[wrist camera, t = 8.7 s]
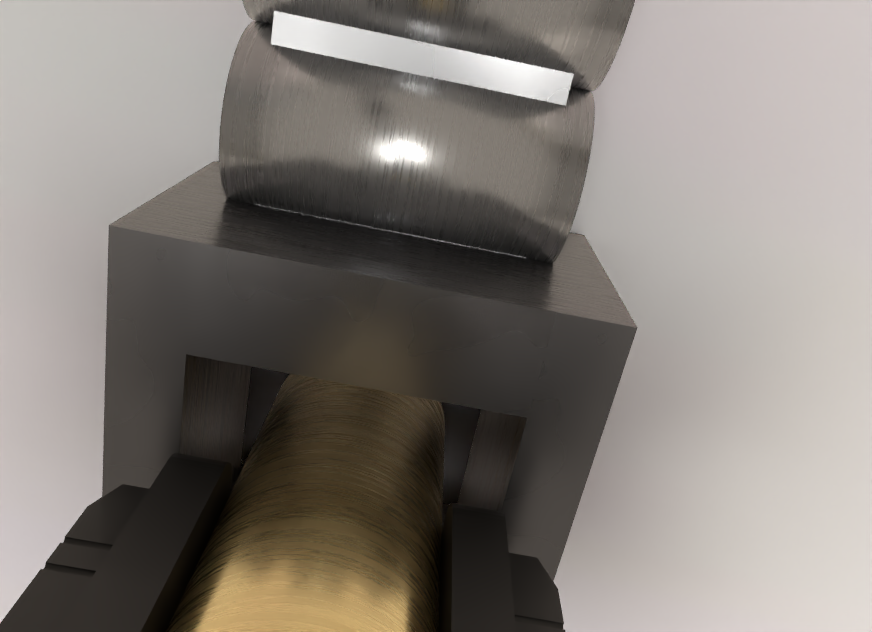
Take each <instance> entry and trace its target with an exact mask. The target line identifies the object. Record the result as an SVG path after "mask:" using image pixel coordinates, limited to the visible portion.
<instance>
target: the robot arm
mask: <svg viewBox="0 0 872 632" xmlns="http://www.w3.org/2000/svg"><path fill="white" fill-rule="evenodd" d="M231 476H232V467H231V463H229V462H224V461H218V460H213V459H207V458H201V457H196V456H190V455H185V454H179V453H174V454H172V455H171V456H170V458H169V459H168V461H167V462H166V464H165V465H164V467H163V468H162V470H161V471H160V473H159V475H158V476H157V478H156V479H155V481H154V482H153V484H152V485H151V487H150V489H148V488H143V487H137V486H131V485H126V484H122V485H121V486H119V487H117V488H116V489H114V490H113V491H111V492H110V493H108V494H106V495H105V496H103V497H102V498H100V499H99V500H97V501H95V502H94V503H92V504H91V505H89V506H88V507H87V508H86V509H85V511H84V512H83V513H82V515H81V516H80V517H79V519H78V520H77V521H76V523H75V524H74V525H73V527H72V528H71V529H70V531H69V532H68V533H67V535H66V536H65V540H64V542H63V543H60V544H59V546H58V547H57V548H56V550H55V551H54V552H53V554H52V555H51V556H50V558H49V559H48V560H47V562H46V565H45V568H44V569H41V570H40V571H39V572H38V574H37V575H36V576H35V578H34V579H33V580H32V582H31V583H30V584H29V586H28V587H27V588H26V590H25V591H24V592H23V594H22V595H21V596H20V598H19V599H18V600H17V602H16V603H15V604H14V606H13V607H12V609H11V610H10V611H9V613H8V614H7V615H6V617H5V618H4V619H3V621H2V622H1V623H0V632H166V630H167V628H168V626H169V624H170V621H171V619H172V617H173V615H174V613H175V611H176V609H177V607H178V604H179V602H180V600H181V598H182V596H183V594H184V592H185V590H186V587H187V585H188V583H189V581H190V579H191V577H192V575H193V573H194V570H195V568H196V566H197V564H198V562H199V560H200V558H201V556H202V553H203V551H204V549H205V547H206V545H207V543H208V541H209V539H210V536H211V534H212V532H213V530H214V528H215V526H216V524H217V522H218V519H219V517H220V515H221V513H222V511H223V509H224V507H225V505H226V502H227V500H228V498H229V496H230V486H231ZM563 624H564V622H563V616H562V610H561V605H560V599H559V593H558V589H557V587H556V586H555V584H554V582H553V581H552V579H551V578H550V576H549V575H548V573H547V572H546V570H545V569H544V567H543V565H542V564H541V562H540V561H539V559H538V558H537V557H531V556H525V555H520V554H514V553H509V550H508V540H507V529H506V519H505V514H504V513H503V512H500V511H495V510H489V509H484V508H478V507H472V506H467V505H461V504H456V503H450V504H449V507H448V510H447V513H446V517H445V521H444V525H443V529H442V533H441V559H440V592H439V625H438V632H565V630H563Z"/></svg>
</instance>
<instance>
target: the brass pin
mask: <svg viewBox="0 0 872 632" xmlns="http://www.w3.org/2000/svg"><path fill="white" fill-rule="evenodd" d="M444 444H445V416H444V410H443V406H442V403H441V402H439V401H434V400H428V399H423V398H418V397H412V396H407V395H402V394H396V393H391V392H385V391H380V390H375V389H369V388H364V387H359V386H353V385H348V384H342V383H337V382H332V381H326V380H321V379H316V378H310V377H305V376H299V375H294V374H289V375H288V377H287V378H286V379H285V381H284V382H283V384H282V386H281V388H280V390H279V392H278V394H277V396H276V398H275V400H274V403H273V405H272V407H271V409H270V411H269V413H268V415H267V417H266V420H265V422H264V424H263V426H262V428H261V430H260V432H259V434H258V436H257V439H256V441H255V443H254V445H253V447H252V449H251V451H250V453H249V456H248V458H247V460H246V462H245V464H244V466H243V468H242V470H241V473H240V475H239V477H238V479H237V481H236V483H235V485H234V487H233V490H232V492H231V494H230V496H229V498H228V500H227V502H226V505H225V507H224V509H223V511H222V513H221V515H220V517H219V519H218V522H217V524H216V526H215V528H214V530H213V532H212V534H211V536H210V539H209V541H208V543H207V545H206V547H205V549H204V551H203V553H202V556H201V558H200V560H199V562H198V564H197V566H196V568H195V570H194V573H193V575H192V577H191V579H190V581H189V583H188V585H187V587H186V590H185V592H184V594H183V596H182V598H181V600H180V602H179V604H178V607H177V609H176V611H175V613H174V615H173V617H172V619H171V621H170V624H169V626H168V628H167V630H166V632H438V625H439V592H440V559H441V533H442V512H443V478H444Z"/></svg>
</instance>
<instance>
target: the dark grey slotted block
mask: <svg viewBox="0 0 872 632" xmlns="http://www.w3.org/2000/svg"><path fill="white" fill-rule="evenodd" d="M242 1H243V4H244V7H245V10H246V12H247V14H248V16H249V17H250V18H251V19H252V20H255V21H253V22H251V23H250V24H249V25H248V26H247V28H246V29H245V31H244V32H243V34H242V36H241V38H240V40H239V42H238V45H237V48H236V50H235V53H234V57H233V60H232V63H231V67H230V71H229V75H228V79H227V84H226V89H225V95H224V100H223V108H222V115H221V125H220V140H219V162H212V163H210V164H209V165H207V166H206V167H204V168H202V169H201V170H199V171H197V172H196V173H194V174H192V175H191V176H189V177H187V178H186V179H184V180H183V181H181V182H179V183H178V184H176V185H174V186H173V187H171V188H169V189H168V190H166V191H164V192H163V193H161V194H160V195H158V196H156V197H155V198H153V199H151V200H150V201H148V202H146V203H145V204H143V205H141V206H140V207H138V208H137V209H135V210H133V211H132V212H130V213H128V214H127V215H125V216H123V217H122V218H120V219H118V220H117V221H115V222H114V223H112V224H110V225H109V244H108V286H107V327H106V368H105V410H104V451H103V492H102V497H103V496H105V495H106V494H108V493H110V492H111V491H113V490H114V489H116V488H117V487H119V486H121V485H122V484H126V485H131V486H137V487H143V488H148V489H150V487H151V485H152V484H153V482H154V481H155V479H156V478H157V476H158V475H159V473H160V471H161V470H162V468H163V467H164V465H165V464H166V462H167V461H168V459H169V458H170V456H171V455H172V454H174V453H179V454H185V455H190V456H196V457H201V458H207V459H213V460H218V461H224V462H229V463H231V467H232V476H231V486H230V494H231V492H232V490H233V487H234V485H235V483H236V481H237V479H238V477H239V475H240V473H241V470H242V468H240V467H241V458H242V449H243V440H244V431H245V422H246V413H247V404H248V395H249V386H250V377H251V368H252V367H256V368H262V369H267V370H273V371H278V372H283V373H289V374H294V375H299V376H305V377H310V378H316V379H321V380H326V381H332V382H337V383H342V384H348V385H353V386H359V387H364V388H369V389H375V390H380V391H385V392H391V393H396V394H402V395H407V396H412V397H418V398H423V399H428V400H434V401H439V402H444V403H450V404H455V405H461V406H466V407H471V408H477V409H481V411H480V415H479V419H478V423H477V427H476V431H475V434H474V438H473V442H472V446H471V450H470V454H469V458H468V462H467V466H466V470H465V474H464V478H463V482H462V486H461V490H460V494H459V498H458V502H457V504H461V505H467V506H472V507H478V508H484V509H489V510H495V511H500V512H503V513H504V514H505V519H506V529H507V540H508V550H509V553H514V554H520V555H525V556H531V557H537V558H538V559H539V561H540V562H541V564H542V565H543V567H544V569H545V570H546V572H547V573H548V575H549V576H550V578H551V579H552V581H553V580H554V577H555V574H556V571H557V568H558V565H559V562H560V559H561V556H562V553H563V550H564V547H565V544H566V541H567V538H568V535H569V532H570V529H571V526H572V523H573V520H574V517H575V514H576V511H577V508H578V505H579V502H580V499H581V496H582V493H583V490H584V487H585V484H586V481H587V478H588V475H589V472H590V469H591V466H592V463H593V460H594V457H595V454H596V451H597V448H598V445H599V442H600V439H601V436H602V433H603V430H604V426H605V423H606V420H607V417H608V414H609V411H610V408H611V405H612V402H613V399H614V396H615V393H616V390H617V387H618V384H619V381H620V378H621V375H622V372H623V369H624V366H625V363H626V360H627V357H628V354H629V351H630V348H631V345H632V342H633V339H634V336H635V333H636V330H637V326H636V325H635V323H634V321H633V320H632V318H631V316H630V314H629V313H628V311H627V309H626V307H625V306H624V304H623V302H622V300H621V299H620V297H619V295H618V293H617V292H616V290H615V288H614V286H613V285H612V283H611V281H610V279H609V278H608V276H607V274H606V272H605V271H604V269H603V267H602V265H601V264H600V262H599V260H598V258H597V257H596V255H595V253H594V251H593V250H592V248H591V246H590V244H589V243H588V241H587V239H586V238H585V236H584V235H580V234H575V233H570V229H571V226H572V224H573V220H574V217H575V214H576V211H577V208H578V204H579V201H580V197H581V193H582V190H583V185H584V181H585V177H586V172H587V167H588V163H589V157H590V151H591V145H592V138H593V129H594V99H593V95H592V93H591V91H594V90H595V89H596V88H598V86H599V85H600V84H601V82H602V81H603V79H604V78H605V76H606V74H607V72H608V70H609V69H610V66H611V64H612V62H613V60H614V58H615V56H616V53H617V51H618V48H619V46H620V43H621V41H622V38H623V35H624V33H625V30H626V27H627V24H628V21H629V18H630V15H631V12H632V9H633V6H634V2H635V0H242ZM448 507H449V505H447V504H443V512H442V529H443V525H444V521H445V517H446V513H447V510H448Z"/></svg>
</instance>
